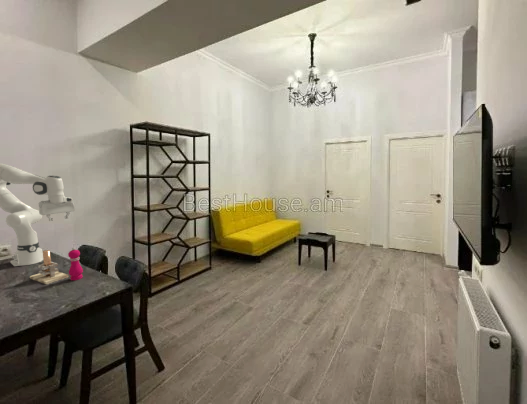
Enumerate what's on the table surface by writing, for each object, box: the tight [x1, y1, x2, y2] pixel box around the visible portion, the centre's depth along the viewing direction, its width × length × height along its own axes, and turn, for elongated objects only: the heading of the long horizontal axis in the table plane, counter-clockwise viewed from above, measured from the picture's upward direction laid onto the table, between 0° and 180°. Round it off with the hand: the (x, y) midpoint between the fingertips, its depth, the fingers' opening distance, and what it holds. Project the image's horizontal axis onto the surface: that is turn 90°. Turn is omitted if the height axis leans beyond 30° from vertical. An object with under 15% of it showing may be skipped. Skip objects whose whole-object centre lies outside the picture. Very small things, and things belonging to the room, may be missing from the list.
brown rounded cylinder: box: [42, 249, 52, 277], centre depth 167 cm, size 4×4×16 cm
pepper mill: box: [67, 247, 84, 281], centre depth 165 cm, size 7×7×20 cm
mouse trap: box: [29, 261, 70, 285], centre depth 167 cm, size 20×12×9 cm, turn 63°
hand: (58, 219), depth 181 cm, fingers open, 8 cm apart
